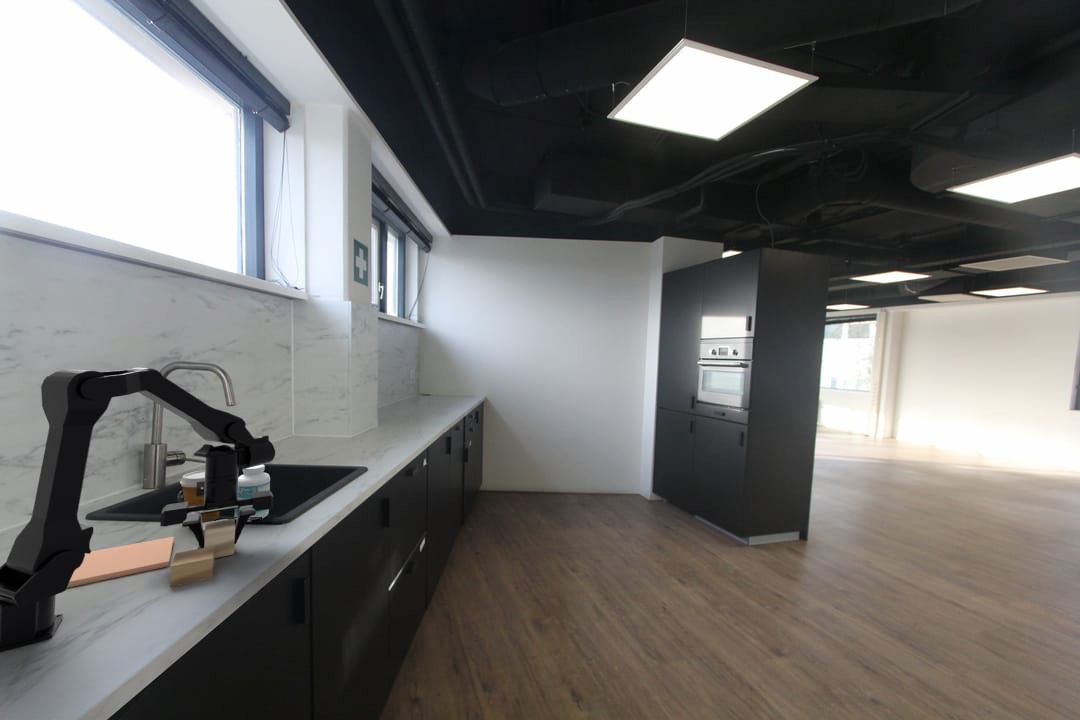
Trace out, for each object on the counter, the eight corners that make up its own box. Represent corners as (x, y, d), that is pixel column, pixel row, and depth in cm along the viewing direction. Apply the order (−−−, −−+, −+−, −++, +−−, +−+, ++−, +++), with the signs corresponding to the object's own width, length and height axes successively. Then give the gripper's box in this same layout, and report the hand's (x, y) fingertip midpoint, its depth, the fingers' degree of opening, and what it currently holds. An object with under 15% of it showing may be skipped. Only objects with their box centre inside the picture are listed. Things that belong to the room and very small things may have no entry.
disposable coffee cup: (168, 529, 99) (170, 479, 99) (193, 514, 109) (195, 469, 109) (213, 527, 101) (215, 478, 101) (234, 513, 111) (235, 468, 111)
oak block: (211, 578, 79) (212, 558, 79) (170, 588, 75) (170, 566, 75) (214, 565, 83) (214, 546, 84) (175, 573, 80) (175, 553, 80)
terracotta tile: (168, 566, 82) (168, 561, 82) (63, 588, 74) (63, 582, 74) (173, 541, 93) (173, 536, 93) (82, 557, 84) (83, 552, 84)
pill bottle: (226, 520, 105) (228, 468, 105) (253, 511, 113) (255, 461, 113) (250, 524, 104) (252, 471, 104) (275, 514, 111) (277, 464, 111)
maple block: (234, 554, 88) (235, 526, 88) (203, 560, 85) (204, 531, 85) (233, 545, 92) (234, 518, 92) (204, 551, 88) (205, 523, 88)
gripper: (269, 460, 100) (267, 524, 100) (166, 471, 89) (164, 544, 89) (275, 471, 92) (272, 541, 91) (161, 484, 80) (158, 564, 80)
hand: (219, 546), depth 88 cm, fingers closed on maple block, 5 cm apart
